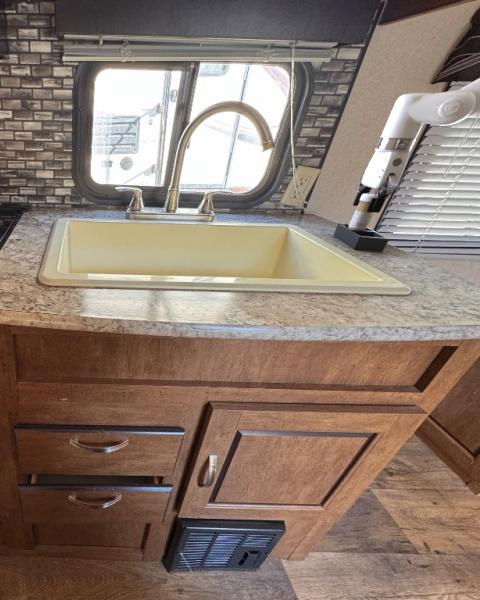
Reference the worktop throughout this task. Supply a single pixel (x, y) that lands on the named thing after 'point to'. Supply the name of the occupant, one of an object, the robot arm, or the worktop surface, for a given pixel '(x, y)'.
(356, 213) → the sprinkles bottle
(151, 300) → the worktop surface
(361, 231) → the grid
